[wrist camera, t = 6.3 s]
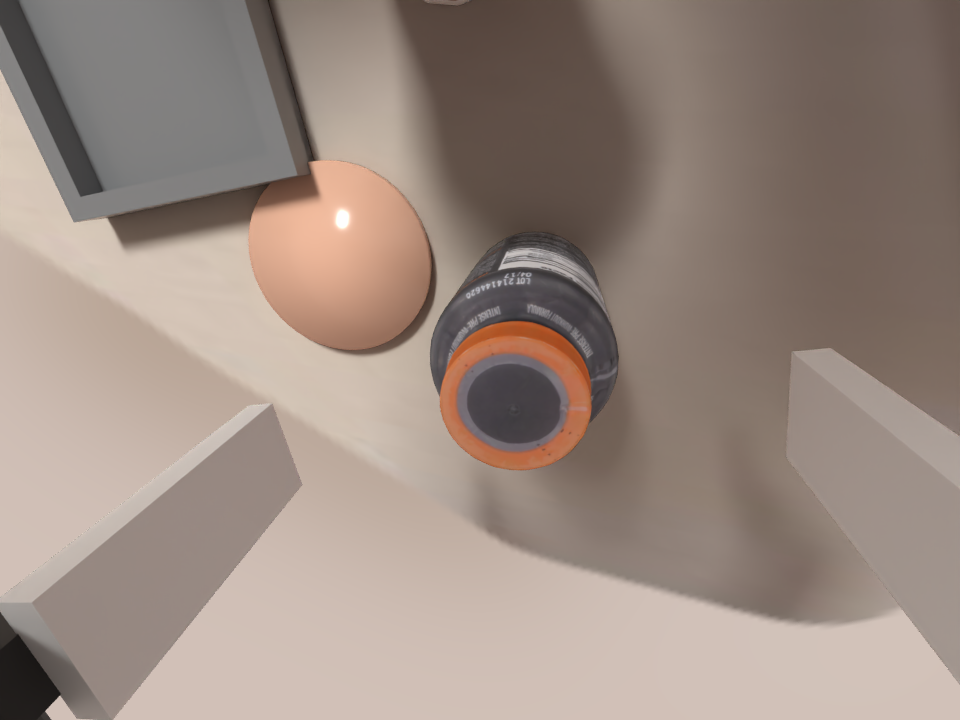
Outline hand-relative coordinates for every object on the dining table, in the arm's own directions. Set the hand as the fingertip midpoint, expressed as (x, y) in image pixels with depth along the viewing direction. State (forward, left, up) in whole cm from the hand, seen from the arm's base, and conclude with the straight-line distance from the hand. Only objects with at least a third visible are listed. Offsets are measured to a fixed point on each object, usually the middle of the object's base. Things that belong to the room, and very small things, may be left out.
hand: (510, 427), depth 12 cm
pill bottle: (0, 0, -12) cm, 12 cm away
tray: (-13, -15, -11) cm, 23 cm away
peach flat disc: (-3, -9, -11) cm, 15 cm away
